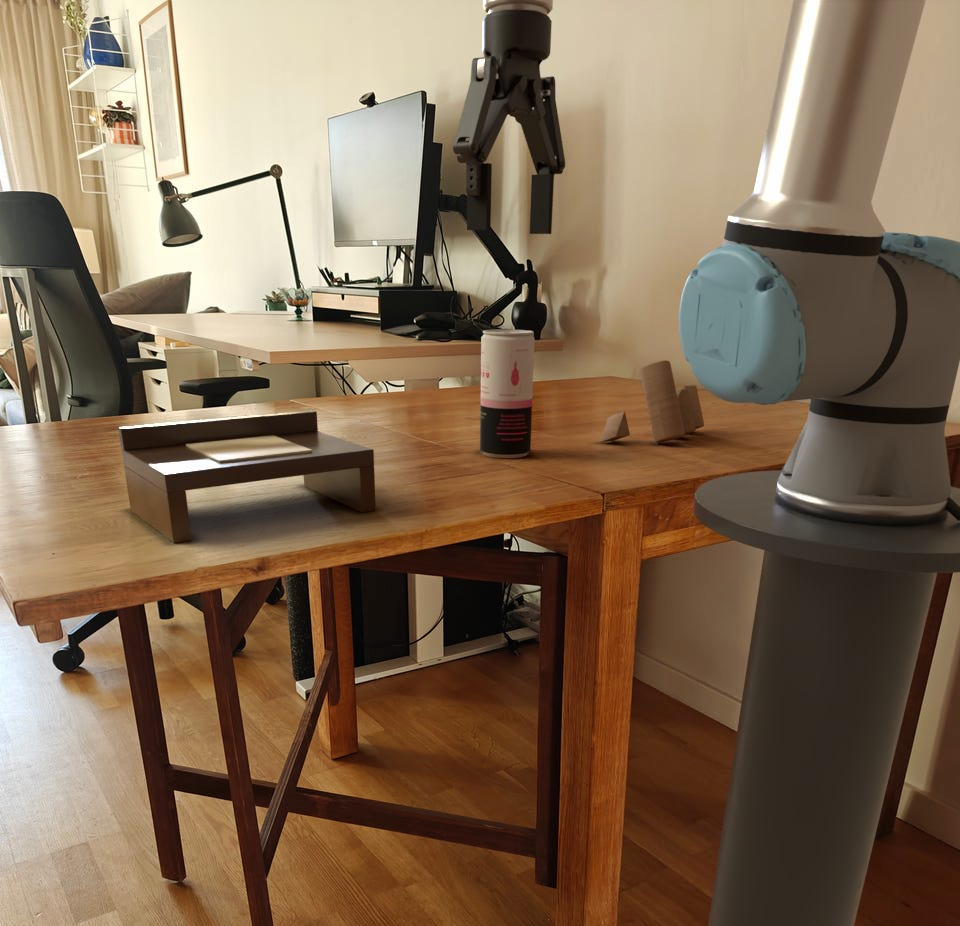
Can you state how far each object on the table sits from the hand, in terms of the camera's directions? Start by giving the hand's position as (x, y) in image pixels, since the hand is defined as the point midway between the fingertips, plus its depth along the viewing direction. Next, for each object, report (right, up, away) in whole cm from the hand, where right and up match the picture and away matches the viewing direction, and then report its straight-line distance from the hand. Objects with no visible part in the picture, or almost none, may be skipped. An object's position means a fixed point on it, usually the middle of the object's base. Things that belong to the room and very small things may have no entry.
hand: (511, 232), depth 102 cm
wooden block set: (+22, -20, +21) cm, 36 cm away
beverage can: (0, -24, +10) cm, 26 cm away
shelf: (-26, -35, -17) cm, 47 cm away
